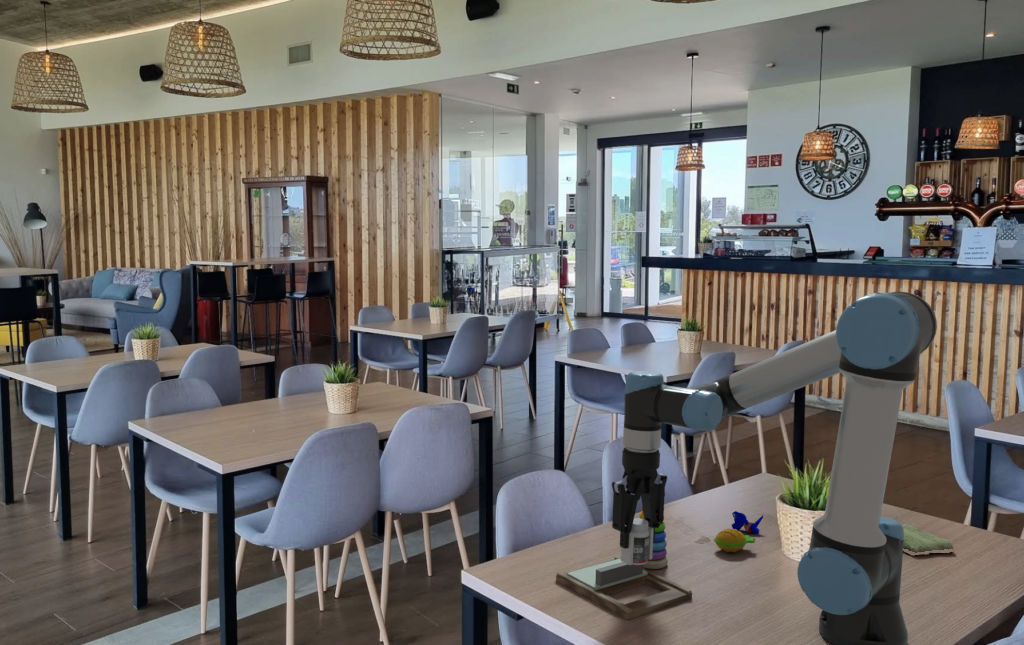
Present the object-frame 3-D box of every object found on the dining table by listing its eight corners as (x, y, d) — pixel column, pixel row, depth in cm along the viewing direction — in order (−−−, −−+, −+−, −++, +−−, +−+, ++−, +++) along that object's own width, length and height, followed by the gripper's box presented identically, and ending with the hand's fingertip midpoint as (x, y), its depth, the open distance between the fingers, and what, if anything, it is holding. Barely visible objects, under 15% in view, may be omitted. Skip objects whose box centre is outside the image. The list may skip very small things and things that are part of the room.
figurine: (732, 526, 212) (733, 508, 211) (762, 531, 208) (763, 513, 208) (728, 532, 207) (729, 513, 207) (759, 537, 204) (760, 518, 204)
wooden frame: (691, 598, 167) (692, 590, 167) (627, 619, 156) (627, 611, 156) (618, 563, 185) (618, 556, 185) (555, 580, 174) (556, 573, 174)
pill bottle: (621, 562, 166) (622, 522, 165) (629, 555, 170) (630, 515, 169) (643, 567, 164) (645, 526, 163) (651, 559, 168) (652, 520, 167)
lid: (647, 574, 175) (648, 558, 175) (594, 590, 166) (595, 573, 166) (618, 561, 182) (619, 545, 182) (566, 575, 174) (567, 559, 173)
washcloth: (905, 530, 212) (906, 518, 212) (957, 556, 195) (958, 542, 195) (861, 533, 209) (862, 521, 209) (910, 559, 192) (911, 546, 192)
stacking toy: (667, 572, 180) (670, 489, 179) (631, 568, 182) (633, 486, 180) (667, 559, 188) (671, 479, 186) (633, 555, 190) (635, 476, 188)
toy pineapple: (707, 548, 196) (708, 526, 195) (742, 543, 199) (743, 522, 199) (724, 558, 189) (725, 536, 189) (760, 553, 193) (761, 531, 192)
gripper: (659, 439, 173) (654, 545, 175) (595, 449, 162) (591, 562, 165) (685, 446, 167) (680, 557, 169) (621, 457, 156) (617, 575, 159)
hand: (636, 559), depth 167 cm, fingers closed on pill bottle, 5 cm apart
